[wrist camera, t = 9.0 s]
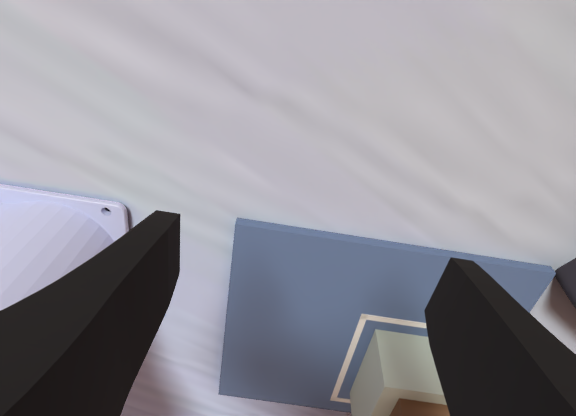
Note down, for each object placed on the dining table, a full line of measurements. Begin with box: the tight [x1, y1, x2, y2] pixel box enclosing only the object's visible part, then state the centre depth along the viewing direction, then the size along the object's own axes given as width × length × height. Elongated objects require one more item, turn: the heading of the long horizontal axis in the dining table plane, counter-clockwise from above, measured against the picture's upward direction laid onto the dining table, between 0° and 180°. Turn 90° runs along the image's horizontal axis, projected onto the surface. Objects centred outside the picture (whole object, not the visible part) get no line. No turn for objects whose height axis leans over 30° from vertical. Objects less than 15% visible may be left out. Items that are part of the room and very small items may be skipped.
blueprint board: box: [219, 218, 556, 413], centre depth 27 cm, size 18×16×1 cm
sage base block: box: [350, 329, 447, 416], centre depth 26 cm, size 7×7×4 cm
